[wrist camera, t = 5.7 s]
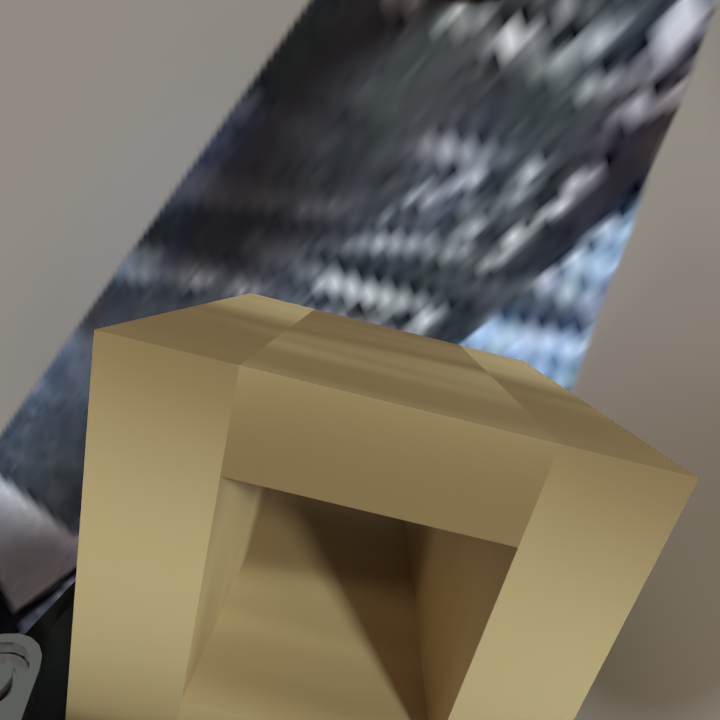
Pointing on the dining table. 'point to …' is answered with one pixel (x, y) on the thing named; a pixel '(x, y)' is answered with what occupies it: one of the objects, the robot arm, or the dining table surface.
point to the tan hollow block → (348, 525)
